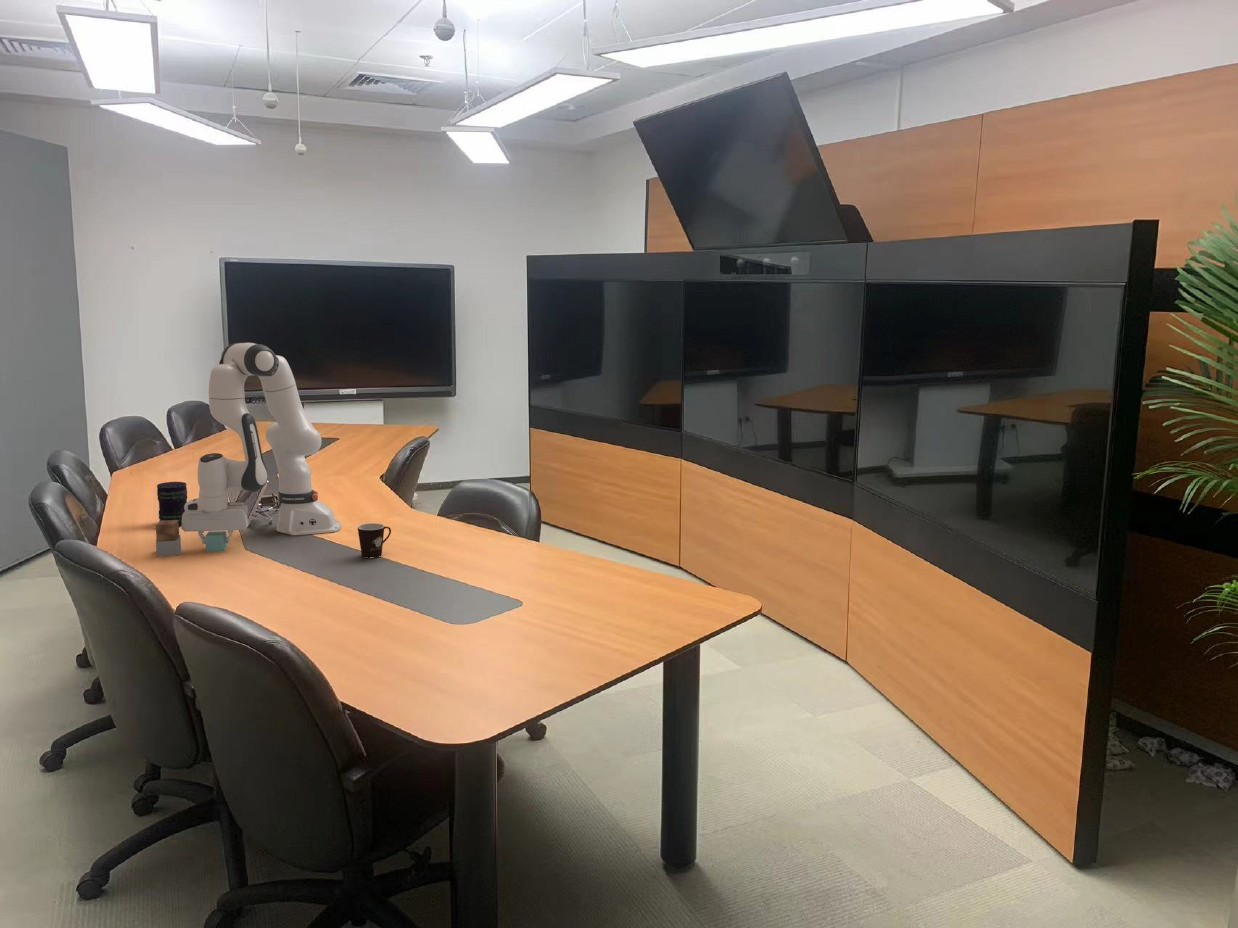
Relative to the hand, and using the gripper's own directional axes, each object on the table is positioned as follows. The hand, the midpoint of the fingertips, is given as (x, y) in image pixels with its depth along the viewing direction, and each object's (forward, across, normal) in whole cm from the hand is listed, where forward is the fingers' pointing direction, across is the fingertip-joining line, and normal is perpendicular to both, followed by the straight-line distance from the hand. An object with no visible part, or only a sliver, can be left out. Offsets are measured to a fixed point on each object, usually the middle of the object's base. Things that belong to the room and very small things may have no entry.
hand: (216, 543), depth 301 cm
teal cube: (+2, 0, 0) cm, 2 cm away
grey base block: (+2, +14, +2) cm, 14 cm away
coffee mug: (+2, -52, +14) cm, 54 cm away
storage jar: (+2, +21, -35) cm, 41 cm away
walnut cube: (-3, +14, +2) cm, 15 cm away
